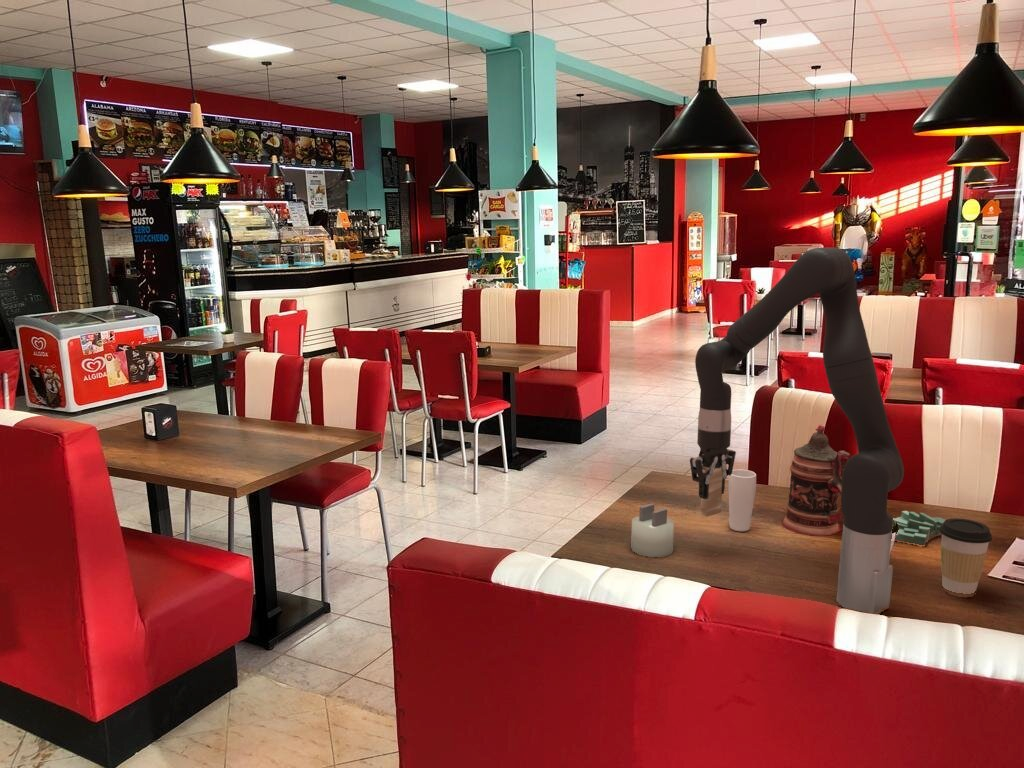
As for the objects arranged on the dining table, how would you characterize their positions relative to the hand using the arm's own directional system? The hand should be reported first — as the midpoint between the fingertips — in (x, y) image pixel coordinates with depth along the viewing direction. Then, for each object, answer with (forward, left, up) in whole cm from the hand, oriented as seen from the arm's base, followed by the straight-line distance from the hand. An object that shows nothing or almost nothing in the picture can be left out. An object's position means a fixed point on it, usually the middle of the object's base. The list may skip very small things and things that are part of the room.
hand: (711, 495), depth 192 cm
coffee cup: (-46, -27, -14) cm, 55 cm away
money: (-22, -52, -15) cm, 58 cm away
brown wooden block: (0, 0, -4) cm, 4 cm away
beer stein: (-6, -34, -14) cm, 37 cm away
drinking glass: (+5, -18, -14) cm, 24 cm away
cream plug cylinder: (+9, +10, -14) cm, 20 cm away
